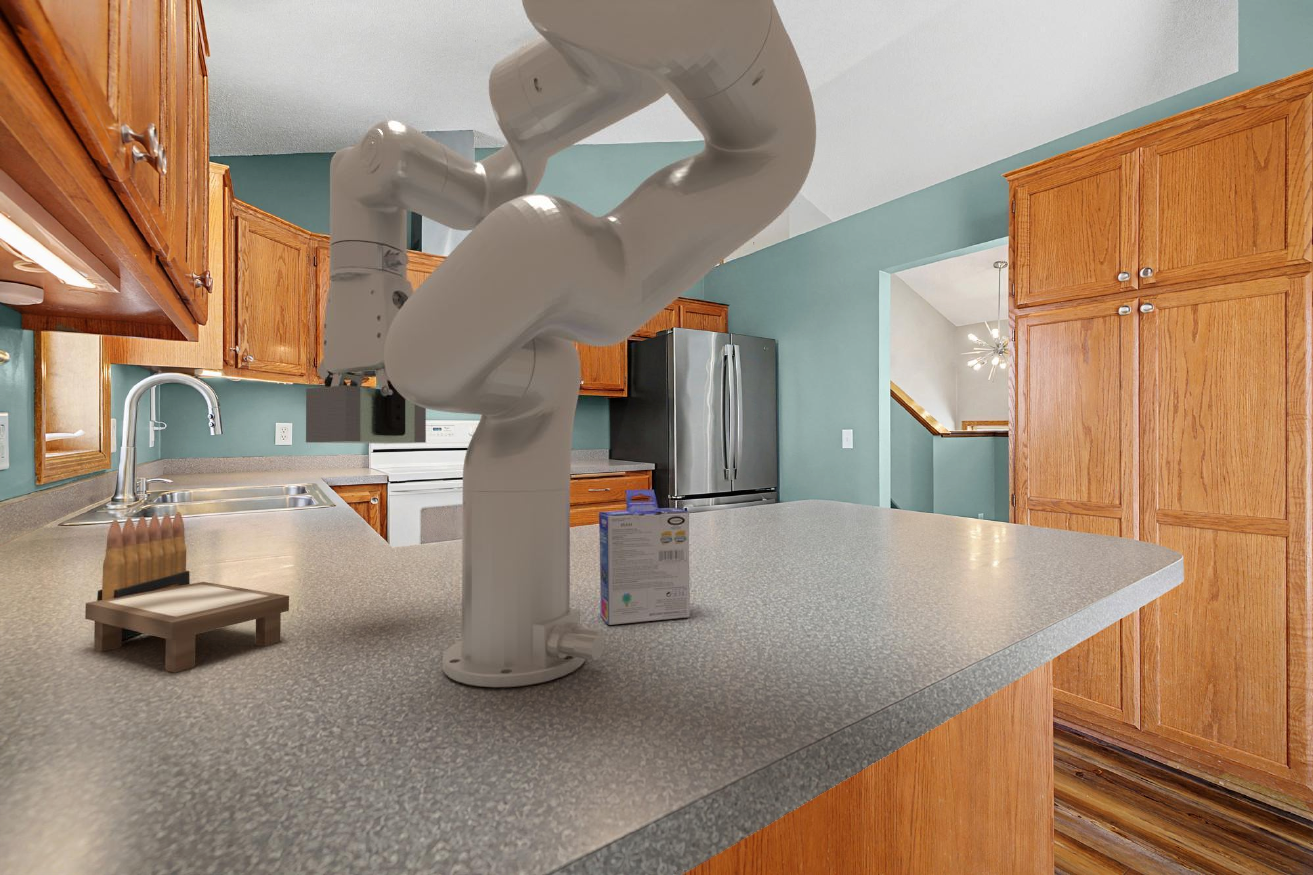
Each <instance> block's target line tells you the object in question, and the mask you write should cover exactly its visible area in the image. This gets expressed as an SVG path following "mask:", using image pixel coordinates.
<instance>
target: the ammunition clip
mask: <svg viewBox="0 0 1313 875" xmlns="http://www.w3.org/2000/svg"><path fill="white" fill-rule="evenodd" d="M161 520H162V521H161V523H160V520H159V517H158V516H157V514H154V515H152V517H151V519H150V521H149V524H148V522H147V520H146V518H145V517H144V516H143V515H141V516H140V518H139V519H138V521H137V524H136V527H135V524H134V521H133V519H132V518H131V517H128V518H127V519H126V520H125V523H124V525H123V528H121V525H120V523H119V521H118V519H114V520H113V521H112V522H111V523H110V526H109V529H108V533H107V539H106V548H105V557H104V560H103V564H102V580H101V581H102V583H101V584H102V586H101V588H102V589H100V590H97V599H96V601H100V600H105V599H111V598H119V597H122V596H127V595H133V594H138V593H144V592H149V591H155V590H160V589H166V588H171V587H177V586H182V585H188V584H191V583H190V580H191V579H190V578H191V577H190V571H189V570H187V546H186V538H185V525H184V524H185V523H184V518H183V516H182V514H181V512H180V511H177V512H176V514H175V516H174V518H173V520H172V519H171V516H170V514H169V513H167V512H166V513H165V514H164V515H163V517H162V519H161ZM139 634H142V633H141V632H137V631H133V630H129V629H125V628H122V641H123V640H126V639H128V638H130V637H134V636H136V635H139Z"/></svg>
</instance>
